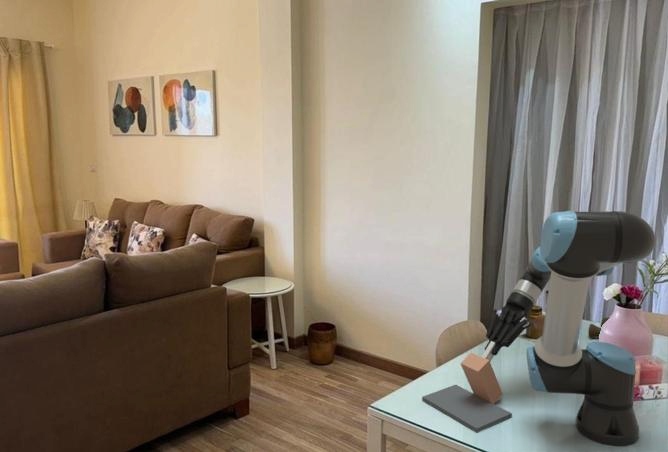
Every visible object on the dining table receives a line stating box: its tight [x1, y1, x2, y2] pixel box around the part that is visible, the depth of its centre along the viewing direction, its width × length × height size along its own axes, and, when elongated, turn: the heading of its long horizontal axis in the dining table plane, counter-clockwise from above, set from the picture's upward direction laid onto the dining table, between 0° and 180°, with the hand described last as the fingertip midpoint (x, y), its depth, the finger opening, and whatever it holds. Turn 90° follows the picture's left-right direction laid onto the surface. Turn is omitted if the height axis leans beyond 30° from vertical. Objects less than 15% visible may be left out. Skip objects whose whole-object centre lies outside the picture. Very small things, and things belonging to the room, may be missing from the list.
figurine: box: [533, 314, 545, 337], centre depth 198 cm, size 8×8×15 cm
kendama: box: [587, 317, 610, 339], centre depth 212 cm, size 6×10×20 cm
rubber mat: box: [421, 384, 513, 433], centre depth 160 cm, size 22×14×1 cm, turn 32°
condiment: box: [518, 305, 544, 343], centre depth 212 cm, size 7×8×12 cm
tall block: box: [459, 352, 504, 405], centre depth 162 cm, size 7×5×14 cm
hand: (484, 362), depth 163 cm, fingers closed
